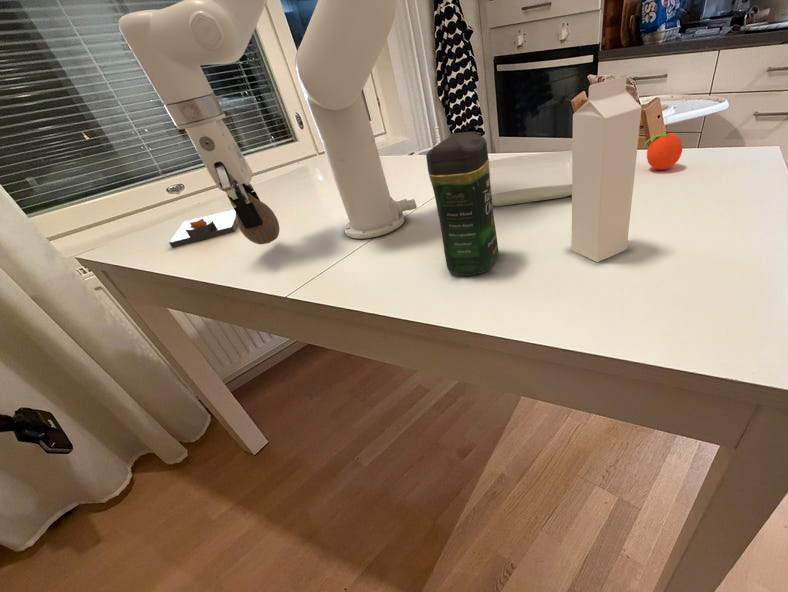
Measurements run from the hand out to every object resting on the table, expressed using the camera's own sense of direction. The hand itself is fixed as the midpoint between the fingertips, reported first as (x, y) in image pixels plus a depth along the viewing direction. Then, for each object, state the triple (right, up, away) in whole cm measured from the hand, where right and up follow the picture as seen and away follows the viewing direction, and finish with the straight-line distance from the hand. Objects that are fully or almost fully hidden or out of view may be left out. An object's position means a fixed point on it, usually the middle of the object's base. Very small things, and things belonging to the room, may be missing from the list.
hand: (256, 219), depth 75 cm
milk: (+61, -10, -13) cm, 64 cm away
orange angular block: (-24, +5, +18) cm, 30 cm away
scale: (-25, +6, +24) cm, 35 cm away
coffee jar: (+42, -11, -11) cm, 45 cm away
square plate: (+53, +12, +15) cm, 57 cm away
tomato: (+82, +15, +12) cm, 84 cm away
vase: (+1, -3, +3) cm, 4 cm away
